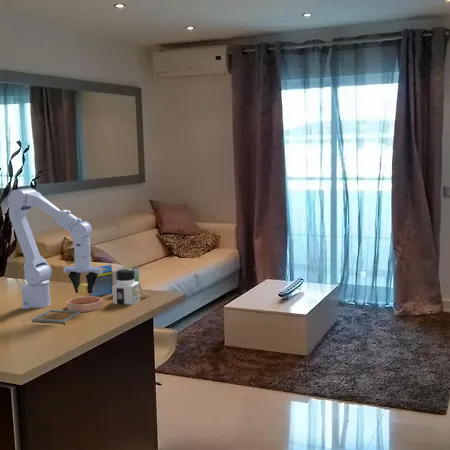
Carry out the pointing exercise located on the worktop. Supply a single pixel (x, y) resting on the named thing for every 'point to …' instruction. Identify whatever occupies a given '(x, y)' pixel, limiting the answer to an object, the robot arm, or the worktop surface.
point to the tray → (55, 320)
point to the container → (126, 288)
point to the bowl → (84, 303)
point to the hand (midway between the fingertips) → (84, 292)
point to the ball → (83, 289)
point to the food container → (136, 274)
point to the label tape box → (103, 282)
